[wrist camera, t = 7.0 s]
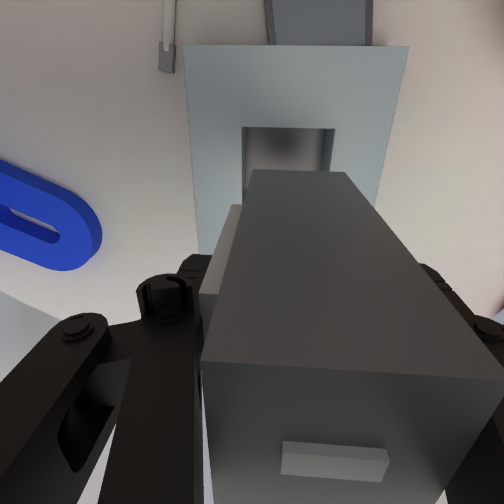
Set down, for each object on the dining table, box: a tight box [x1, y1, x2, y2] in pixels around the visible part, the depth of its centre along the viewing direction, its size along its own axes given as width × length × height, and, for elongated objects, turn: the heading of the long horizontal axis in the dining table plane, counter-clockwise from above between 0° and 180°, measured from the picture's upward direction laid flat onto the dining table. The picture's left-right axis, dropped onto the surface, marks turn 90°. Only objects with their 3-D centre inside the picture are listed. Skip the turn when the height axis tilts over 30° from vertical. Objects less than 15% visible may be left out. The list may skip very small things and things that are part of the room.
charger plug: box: [200, 169, 504, 504], centre depth 11 cm, size 4×4×12 cm
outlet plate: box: [182, 44, 409, 255], centre depth 26 cm, size 14×22×4 cm, turn 179°
